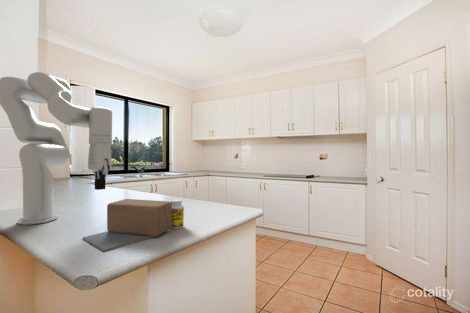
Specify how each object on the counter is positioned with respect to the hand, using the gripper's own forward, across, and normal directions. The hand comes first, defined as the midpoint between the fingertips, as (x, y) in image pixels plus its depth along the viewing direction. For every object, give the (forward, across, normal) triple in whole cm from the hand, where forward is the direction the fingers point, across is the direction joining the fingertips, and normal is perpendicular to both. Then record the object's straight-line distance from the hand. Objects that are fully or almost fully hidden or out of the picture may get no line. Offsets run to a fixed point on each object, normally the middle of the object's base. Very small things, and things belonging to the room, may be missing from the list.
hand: (99, 189), depth 89 cm
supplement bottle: (+14, +22, +18) cm, 32 cm away
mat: (+14, +18, 0) cm, 22 cm away
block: (+9, +8, +2) cm, 12 cm away
